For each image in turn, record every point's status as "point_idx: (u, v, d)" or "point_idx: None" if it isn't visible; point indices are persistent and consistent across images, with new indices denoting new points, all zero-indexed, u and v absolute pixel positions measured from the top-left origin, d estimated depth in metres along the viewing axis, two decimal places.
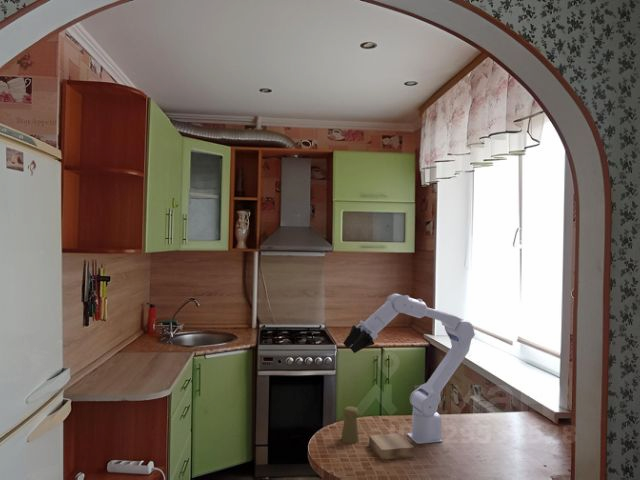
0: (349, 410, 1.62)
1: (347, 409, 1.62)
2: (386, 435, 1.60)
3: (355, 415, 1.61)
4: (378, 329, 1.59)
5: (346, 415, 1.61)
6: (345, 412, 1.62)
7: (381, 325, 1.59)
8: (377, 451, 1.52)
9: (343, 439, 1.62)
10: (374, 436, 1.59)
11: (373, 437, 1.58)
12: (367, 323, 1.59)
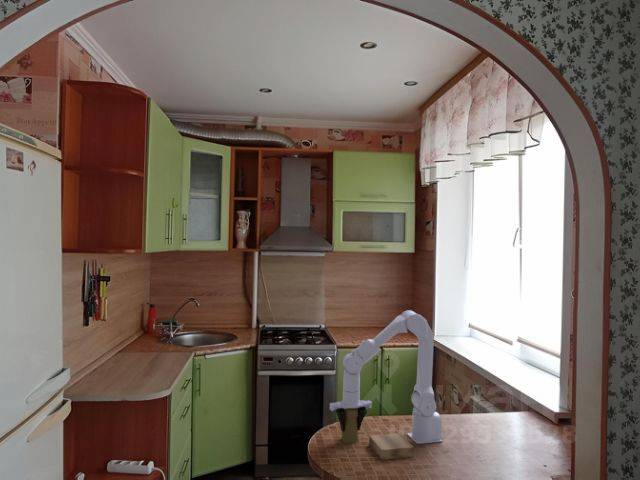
0: (349, 409, 1.62)
1: (347, 409, 1.62)
2: (386, 435, 1.60)
3: (355, 415, 1.61)
4: (345, 398, 1.61)
5: (346, 415, 1.61)
6: (345, 412, 1.62)
7: (344, 393, 1.62)
8: (377, 451, 1.52)
9: (343, 439, 1.62)
10: (374, 436, 1.59)
11: (373, 437, 1.58)
12: None
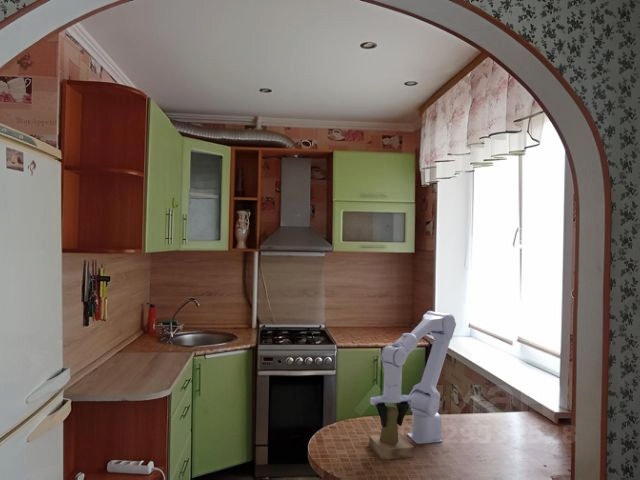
0: (390, 408, 1.55)
1: (388, 408, 1.55)
2: None
3: (396, 414, 1.54)
4: (386, 392, 1.54)
5: (387, 414, 1.54)
6: None
7: (385, 387, 1.54)
8: (377, 451, 1.52)
9: (382, 439, 1.55)
10: (374, 436, 1.59)
11: (373, 437, 1.58)
12: None
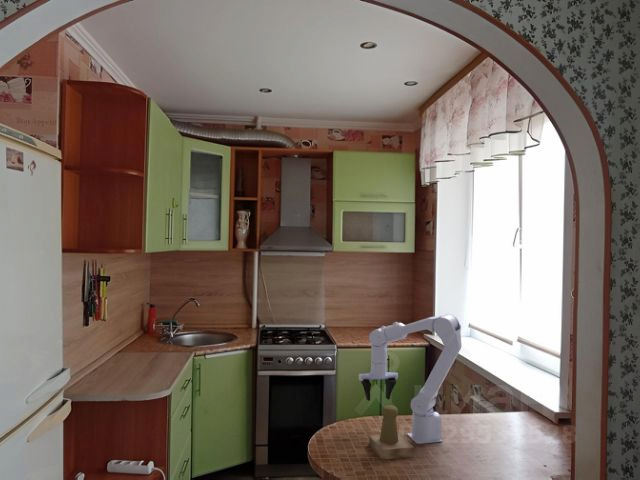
0: (389, 409, 1.55)
1: (386, 408, 1.55)
2: None
3: (395, 414, 1.55)
4: (373, 369, 1.72)
5: (385, 414, 1.55)
6: (384, 411, 1.55)
7: (372, 364, 1.73)
8: (377, 451, 1.52)
9: (382, 439, 1.55)
10: (374, 436, 1.59)
11: (373, 437, 1.58)
12: None
